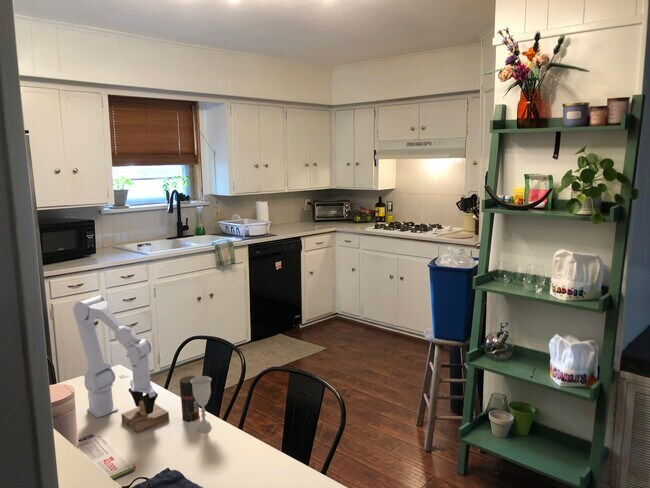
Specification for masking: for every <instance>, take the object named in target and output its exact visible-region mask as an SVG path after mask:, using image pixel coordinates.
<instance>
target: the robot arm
mask: <svg viewBox="0 0 650 488" xmlns="http://www.w3.org/2000/svg"><path fill="white" fill-rule="evenodd" d="M72 312H73V314H74V318H75V321H76V325H77V329H78V333H79V336H80V340H81V343H82V347H83V350H84V355H85V359H86V361H87V365H88V366H87V369H86V370H85V372H84V373H83V376H84V377H83V378H84V388H85V389H86V391H87V397H88V398H87V399H88V408H86V411H87V412H89V413H90V414H91V415H93V416H94V417H96V418H98V419H99V418H101V417H104V416H106V415H109V414H112V413H114V412H117V411H119V408H117V407H116V405H114V401H113V391H112V390H113V389H112V387H113V386H114V385H113V384H114V382H115V381H116V374H115V372H114V370H113V369H112V366H111V364H110V363H107V362H105V359H104V357H103V353H102V349H101V346H100V342H99V338H98V335H97V331H96V328H95V324H94V322H95V321H96V320H100V321H101V322H102V323H104V324H105V325H106V326H107V327H108V328H109V329H110V330H112V331H113V332H114V338H115V339H116V341H118V342H119V343H120V344H121V345H122V347H124V348H125V349H126V355H127V357H128V359H129V361H130V363H129V364H130V365H131V368H132V380H131V379H130V381H129V384H130V386H131V387H130V388H128V389H127V390H128V392H129V393H130V395H131V398H132V399H133V402H134V405H135V408H137V407H139V401H141V400H142V401H143V403H144V405H145V410H146V413H147V414H149V413H152V412H153V408H154V403H155V402H156V399H157V398H158V396H159V395H158V394H159V393H157V392H156V390H155V389H154V387H153V384H152V383H151V373H150V372H151V371H150V362H149V354H150V353H151V352H152V346H151V343H150V342H149V341H148V339H145V338H142V337H139V336H138V335H137V334H136V333H135V332H134V331H133V329H132V328H131V327H129V326H128V325H123V324H122V323H121V322H120V320H119V319H118V318H117V317H116V316H115V314H114V313H113V312H112V311H111V310H110V308H109V303H108V301H107V300H106V299H105V298H104V297H103V296H102V295H101V294H100V295H99V294H97V295H95V296H93V297H89V298H87V299H84V300H81V301H77V302H76V303H75V305H74V306H73V307H72ZM155 404H156V403H155Z"/></svg>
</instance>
